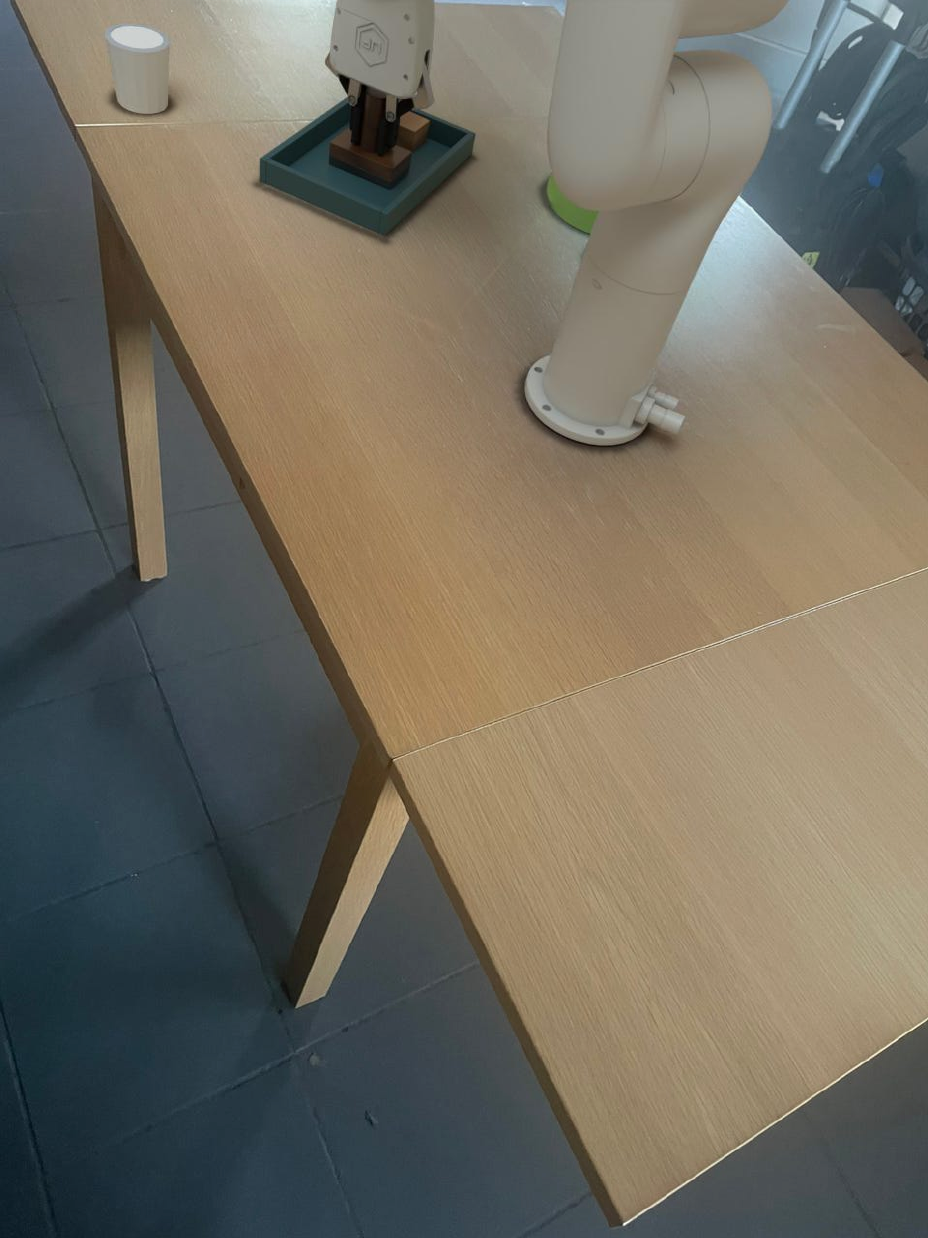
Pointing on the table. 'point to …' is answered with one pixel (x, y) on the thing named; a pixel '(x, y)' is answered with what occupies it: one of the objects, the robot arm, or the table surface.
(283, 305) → the table surface
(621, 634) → the table surface
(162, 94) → the white cup
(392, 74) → the robot arm
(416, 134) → the wooden block
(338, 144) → the stamp
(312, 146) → the tray
